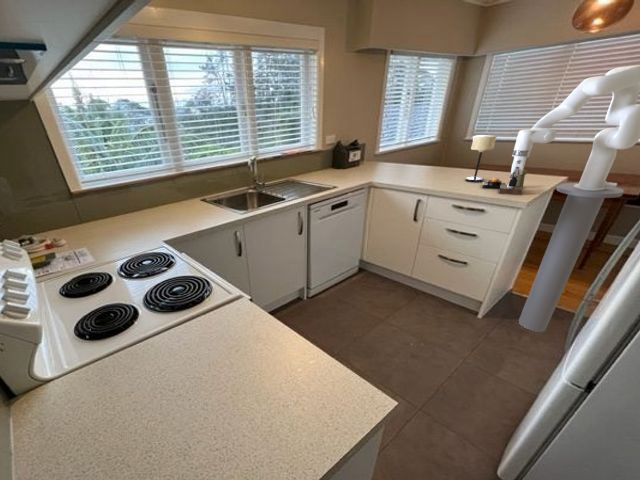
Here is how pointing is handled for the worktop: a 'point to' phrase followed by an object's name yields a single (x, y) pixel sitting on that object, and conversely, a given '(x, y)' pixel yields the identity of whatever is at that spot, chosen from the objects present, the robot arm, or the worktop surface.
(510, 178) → the dimmer knob
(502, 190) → the dimmer panel
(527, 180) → the worktop surface
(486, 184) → the switch block
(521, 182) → the olive upright piece
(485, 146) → the lamp
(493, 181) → the lamp button
